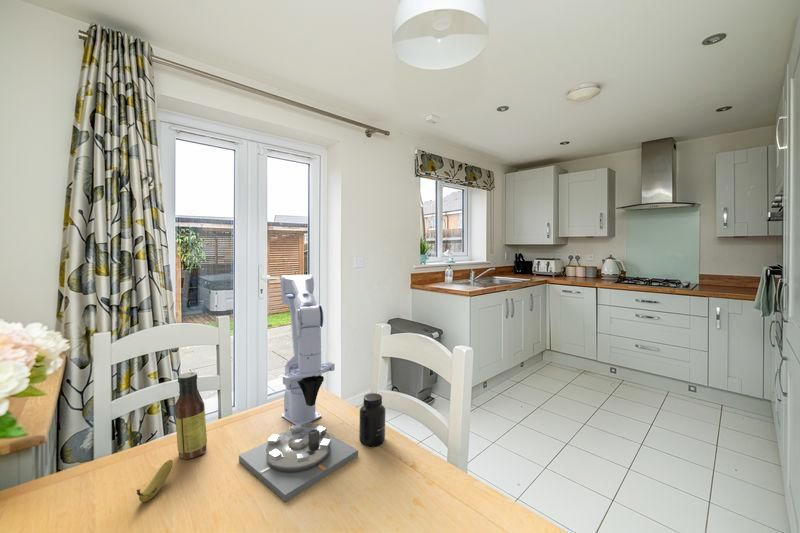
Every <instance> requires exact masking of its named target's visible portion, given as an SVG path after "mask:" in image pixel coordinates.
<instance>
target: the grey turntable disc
mask: <svg viewBox="0 0 800 533" xmlns="http://www.w3.org/2000/svg"><path fill="white" fill-rule="evenodd" d="M326 432H327V428H326V427H323V425H318V426H317V427H316V428H311V427H303V428H301V424H298V425H295V424H293V425H290V429H288V430H285V431H284V432H280V433H279V434H272V435H271V436H270V437H269V438H268V439H267V442H268V445H267V447H266V461H267V463H268V465H269V466H270V467H271V468H273V469H275V470H278V471H281V472H299V471H304V470H308V469H310V468H313V467H315V466H317V465H319V464H320V463H322V462H323V461H324V460H325V459H326V458H327V457H328V456H329V454H330V451H331V438H330V436H329V434H330V433H329V432H327V433H326ZM328 433H329V434H328Z"/></svg>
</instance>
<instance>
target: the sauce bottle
mask: <svg viewBox="0 0 800 533" xmlns="http://www.w3.org/2000/svg"><path fill="white" fill-rule="evenodd" d="M197 380H198V373H197V372H196V371H190V372H184V373H181V374H179V375H178V376H177V382H178V385H179V386H178V388H179V392H178V393H179V396H178V398H177V401H176V402H175V404H174V409H175V415H174V416H175V428H176V429H175V430H176V431H175V432H176V442H177V451H178V457H179V458H181V459H184V460H190V459H195V458H197V457H199V456H201V455H202V454H204V453H205V452H206V451H207V446H208V445H207V444H208V436H207V435H208V434H207V422H206V410H205V409H206V407H205V402H204V401H203V398H202V396H201V394H200V392H199V389H198V384H197V383H198V381H197Z"/></svg>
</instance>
